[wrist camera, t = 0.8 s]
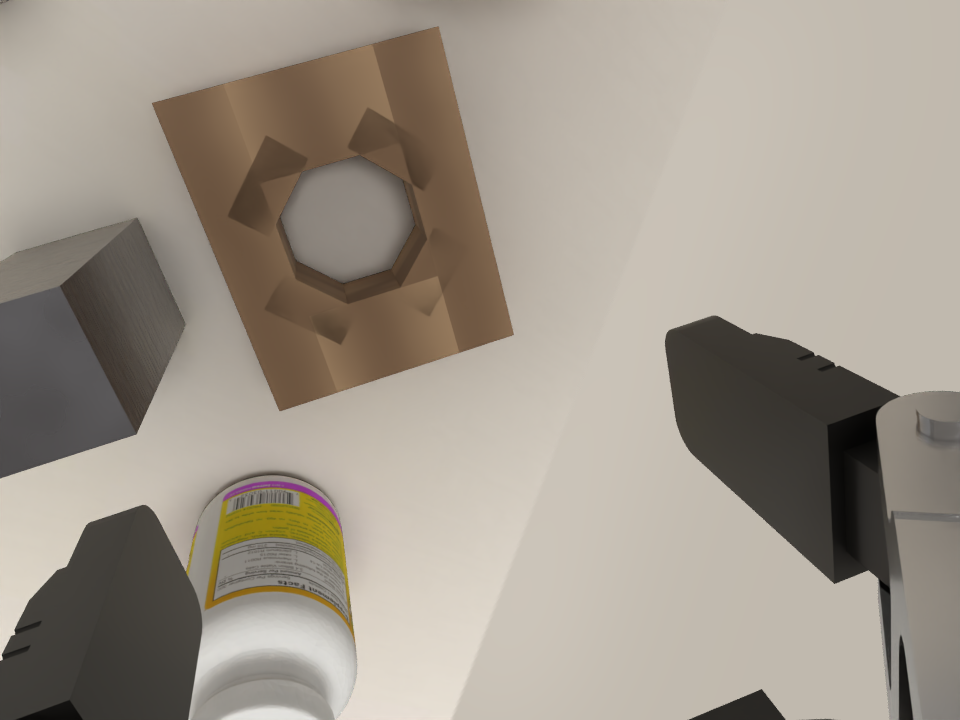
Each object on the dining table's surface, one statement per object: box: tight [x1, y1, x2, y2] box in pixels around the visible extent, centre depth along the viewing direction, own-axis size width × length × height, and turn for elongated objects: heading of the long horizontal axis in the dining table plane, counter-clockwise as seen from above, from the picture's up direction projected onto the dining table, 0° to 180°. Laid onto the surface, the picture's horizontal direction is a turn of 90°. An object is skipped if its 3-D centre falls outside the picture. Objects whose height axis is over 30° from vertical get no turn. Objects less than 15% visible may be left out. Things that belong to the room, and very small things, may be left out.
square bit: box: [0, 218, 185, 478], centre depth 24 cm, size 5×5×10 cm
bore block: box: [152, 27, 514, 411], centre depth 28 cm, size 10×12×3 cm
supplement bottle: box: [186, 475, 357, 720], centre depth 28 cm, size 7×7×13 cm
